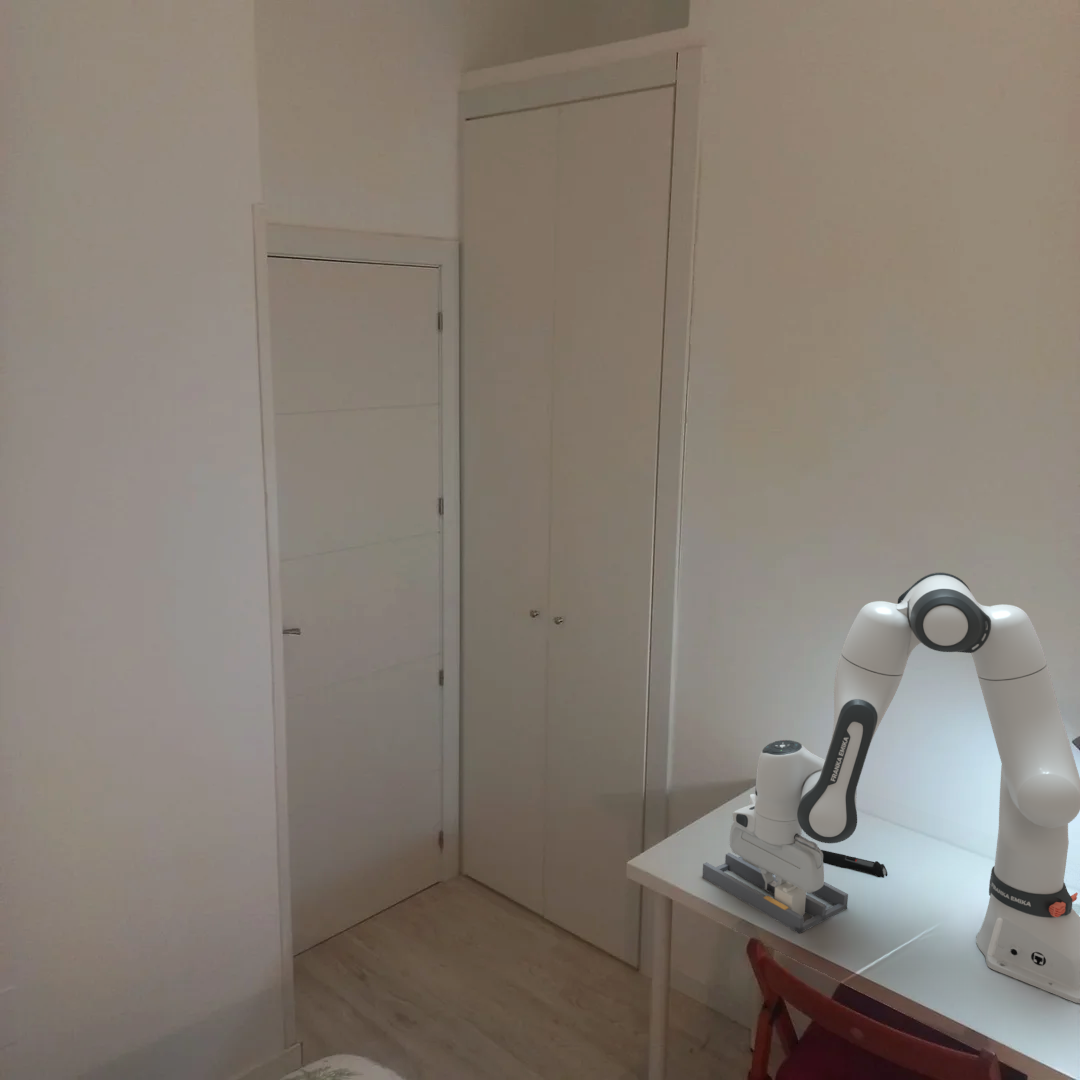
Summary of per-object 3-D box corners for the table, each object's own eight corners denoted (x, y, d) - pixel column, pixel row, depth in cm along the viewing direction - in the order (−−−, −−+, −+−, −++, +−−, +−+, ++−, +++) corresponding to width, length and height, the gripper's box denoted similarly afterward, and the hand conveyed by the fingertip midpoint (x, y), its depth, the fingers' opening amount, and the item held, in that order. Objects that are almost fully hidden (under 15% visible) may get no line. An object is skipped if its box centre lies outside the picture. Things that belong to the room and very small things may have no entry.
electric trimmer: (811, 856, 216) (812, 842, 215) (888, 874, 208) (889, 860, 208) (806, 864, 212) (807, 850, 212) (884, 883, 205) (885, 868, 204)
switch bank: (846, 911, 194) (848, 893, 194) (798, 936, 186) (800, 917, 185) (749, 859, 213) (750, 842, 212) (702, 880, 205) (703, 862, 204)
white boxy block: (804, 914, 192) (806, 887, 191) (790, 921, 190) (792, 893, 188) (787, 904, 195) (789, 877, 194) (773, 911, 193) (775, 884, 192)
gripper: (834, 842, 186) (829, 911, 189) (748, 800, 202) (744, 865, 205) (811, 852, 182) (806, 922, 185) (726, 809, 198) (722, 875, 201)
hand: (773, 892), depth 195 cm, fingers closed
